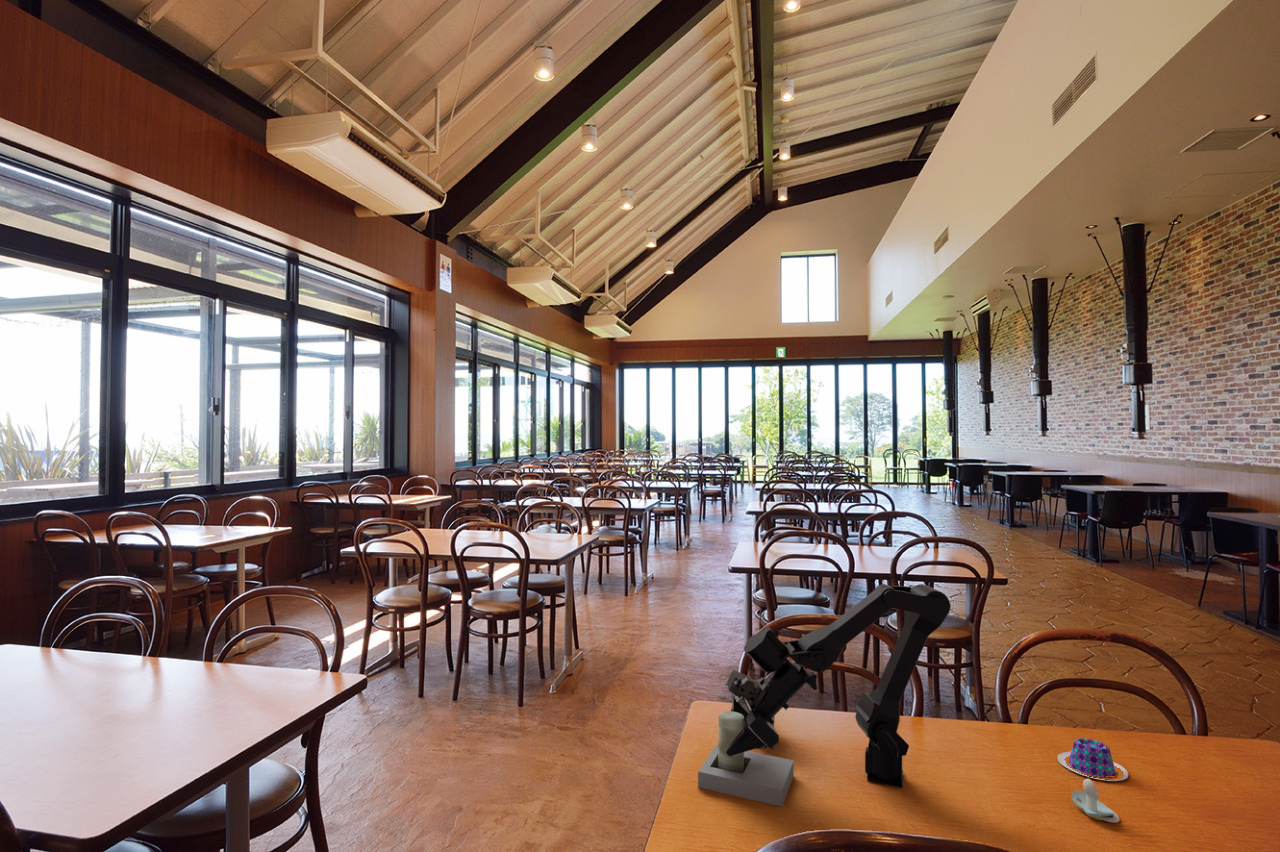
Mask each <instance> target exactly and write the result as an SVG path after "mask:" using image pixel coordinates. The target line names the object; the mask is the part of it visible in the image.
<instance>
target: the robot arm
mask: <svg viewBox="0 0 1280 852" xmlns="http://www.w3.org/2000/svg"><path fill="white" fill-rule="evenodd" d="M951 605H952V604H951V602H950V600H949V597H948V596H947V595H946V594H945V593H944V592H942V591H939V590H938V589H935V588H934V587H932V586H929V585H927V584H923V583H922V584H916V585H913V586H912V587H911V586H907V585H906V586H904V585H888V584H885V583H884V584H879V585H877V586H876V587H875V588H874V590H872V592H870V593H869V594H868V595H866V596H865V597H864V598H863V599H862V600H860V601H859V602H857V603H856V604H855V605H854V606H852V607H851V608H849V610H847V611H846V612H845V613H843V614H842V615H841V616H839V617H838V618H837V619H836V620H834V621H833V622H831V623H830V624H827V625H826V626H823V627H820V628H817V629H814V630H812V631H810V632H808V633H807V634H805V635H802V636H801V637H800V638H799V639H795V640H789V641H788V640H787V641H782V640H780V638H779V637H778V636H777V635H776V633H775V632H774V631H773V629H771V627H769V626H767V627H766V628H765V629H763V630H760V631H758V632H757V633H755V634H753V635H752V636H750V637H749V639H748V640H747V641H746V643H745V645H744V647H743V651H744V653H746V654H747V656H748V657H750V658H751V660H752V661H753V662H755V664H756V665H757V666H758V667H759V668H760V669H761V670H762V671H763V672H765V673H768V672H770V673H771V674H770V675H769V676H768V677H767V678H765V677H764V676H763V677H760V678H758V680H757V681H755V680H756V679H753V678H752V677H750V676H748V675H746V674H744V673H742V672H739V671H737V670H735V669H732V671H731V673H730V675H729V677H728V679H727V681H726V683H725V685H726V686H727V687H728V688H727V689H728V691H729V692H730V693H731V710H730V711H732V712H737V713H740V714H742V715H743V716H744V719H742V730H741V732H740V733H739V734H738V736H737V737H736V738H735V739H734V741H733V742H732V743H731V745H730V746H729V747H728V749H727V750H726V753H727V754H728V756H733V755H736V754H739V753H742V752H746V751H749V752H750V751H752V750H756V749H761V748H765V749H767V748H769V749H770V750H774V748H775V747H777V745H778V744H779V743H780V735H779V733H778V731H777V730H776V728H775V726H774V727H773V726H772V724H773V723H774V724H775V719H774V720H773V717H774V716H776V715H777V714H778V713H779V711H780V710H783V709H784V710H785V711H787V710H788V709H789V708H790V705H789V702H790V700H791V699H793V697H794V696H796V695H797V694H798V693H799V692H800V690H801V689H802V688H803V687H804V686H805V685H806V684H807V685H808V686H809V687H811V689H812V690H813V691H816V690H817V689H818V685H817V678H818V675H817V674H816V673H823V672H826V671H828V669H830V668H831V666H832V665H833V664H834V663H836V661H837V660H838V659H839V658H840V655H841V654H842V652H843V650H844V648H845V647H846V646H847V645H848V644H849V643H850V642H851V641H853V640H854V639H855V638H857V636H859V635H860V634H861V633H863V632H864V631H865V630H866V629H867V628H869V627H870V626H872V625H873V624H874V623H876V622H877V621H879V620H880V618H882V617H883V616H885V615H886V614H887V613H889V611H891V610H892V609H896V610H901V611H903V612H904V615H903V616H904V623H903V624H904V625H903V626H902V628H901V631H900V634H899V636H898V638H897V641H896V643H895V645H894V647H893V649H892V652H891V655H890V656H889V659H888V661H887V664H886V665H885V668H884V671H883V673H882V675H881V677H880V680H879V682H878V685H877V686H876V687H875V689H874V690H873V691H871V693H869V694H868V693H867V692H865V691H862V692H861V694H860V697H859V702H858V703H857V704H856V706H855V707H854V711H855V712H856V713H855V721H856V724H857V726H858V727H859V728H860V729H861V731H862V732H863V733H864V734H865V736H866V737H867V738H868V746H866V748H865V751H864V756H865V757H864V773H865V774H866V775H867V776H866V780H867V781H868V782H871V783H872V782H873V783H877V784H882V785H887V786H891V787H897V788H903V786H904V784H903V783H904V770H903V757H905V756H907V753H908V751H909V748H910V745H909V743H908V742H906V740H904V738H903V737H902V736H901V735H900V734H899V733H898V728H899V725H900V721H901V720H900V717H901V716H900V710H901V708H900V705H901V704H900V703H901V700H902V697H903V696H904V693H905V691H906V688H907V687H908V683H909V682H910V679H911V677H912V674H913V673H914V670H915V667H916V665H917V663H918V661H919V658H920V656H921V653H922V651H923V649H924V647H925V644H926V642H927V640H928V638H929V636H930V635H932V634H933V633H934V632H935V631H937V629H939V628H941V626H942V625H943V624H944V622H945V620H946V618H947V617H948V615H949V614H950V612H951ZM788 657H790V659H791V660H792V661H793V662H792V661H791V660H790V659H789V658H788ZM805 666H806V667H807V668H808V670H810V671H808V670H807V669H806V668H805Z"/></svg>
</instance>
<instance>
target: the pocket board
mask: <svg viewBox="0 0 1280 852" xmlns="http://www.w3.org/2000/svg"><path fill="white" fill-rule="evenodd" d="M794 762H795V761H794V760H793V759H786V758H782V757H779V756H773V755H767V754H763V753H759V752H758V753H757V752H753V751H750V750H749V751H746V752H744V773H743V774H741V773H736V772H732V771H727V770H723V769H718V744H715V745H714V747H713V748H712V750H711V752H710V753H709V755H708V756H707V758H706V759H705V760H704V762H703V764H702V765H701V766H700V768H699V769H698V772H697V776H698V777H697V788H698V789H699V788H700V789H704V790H709V791H712V792H716V793H720V794H723V795H724V794H725V795H730V796H733V797H739V798H742V799H745V800H746V799H747V800H749V801H751V800H752V801H754V802H759V803H764V804H768V805H772V806H777V807H781V808H782V807H783V805H784V803H785V800H786V797H787V794H788V791H790V790H789V789H790V786H791V784H792V781H793V778H794V773H795V772H794V769H795V767H794V766H795V765H794Z"/></svg>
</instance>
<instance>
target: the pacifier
mask: <svg viewBox="0 0 1280 852" xmlns="http://www.w3.org/2000/svg"><path fill="white" fill-rule="evenodd" d="M1082 787H1083V790H1084V791H1082V790H1074V791H1073V792H1072V793H1071V799H1072V802H1073V803H1074V804H1075V806H1077V807H1078V808H1080V809H1081V810H1082V811H1083V813H1085V814H1086V815H1087V816H1089V817H1090V818H1092V817H1093V819H1094V818H1095V819H1094V820H1097V819H1099V821H1104V822H1108V823H1116V824H1117V823H1119V822H1120V817H1119V815H1118V814H1117V813H1116V812H1115V811H1113V810H1112V809H1110V808H1109V807H1108V806H1106V805H1105V804H1104V803H1103V802H1101V801H1100V800H1098V799H1099V798H1100V794H1099V790H1098V789H1097V787H1096V784H1095V783H1094V782H1093V781H1092V780H1091V779H1090V778H1085V779H1084V780H1083V782H1082ZM1110 816H1111V817H1110Z"/></svg>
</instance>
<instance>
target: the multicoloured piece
mask: <svg viewBox="0 0 1280 852" xmlns="http://www.w3.org/2000/svg"><path fill="white" fill-rule="evenodd" d="M1068 756H1070V757H1069V761H1068V764H1070V763H1071V764H1070V765H1069V766H1070V767H1071V766H1072V767H1073V768H1074V770H1073V769H1072V768H1070V767H1069V766H1067V764H1066V761H1065V760H1064V759H1065V758H1066V757H1068ZM1112 756H1113V755H1112V753H1111V750H1110V747H1109V746H1107V745H1106V744H1104V743H1103V742H1101V741H1099V740H1095V739H1092V738H1083V737H1080V738H1078V739H1075V741H1074V742H1073V745H1072V748H1071V751H1066V752H1065V751H1064V752H1061V753H1059V754H1058V755H1057V761H1058V762H1059V763H1060V764H1061V765H1062V766H1063V767H1065V768H1067V770H1069V771H1072V772H1074V773H1076V774H1078V775H1082V776H1083V777H1087V778H1089V779H1090V778H1091V779H1096V780H1100V781H1108V782H1118V781H1124V780H1126V779H1128V778H1129V771H1127V769H1126V768H1124V767H1123V766H1122V765H1120V764H1118V763H1117V762H1115V761H1113V757H1112ZM1114 766H1116V767H1117V768H1120V769H1121V771H1123V773H1124V774H1123V775H1124V776H1122V778H1120V779H1115V780H1105V779H1099V777H1097V778H1093V777H1094V776H1092V777H1089V776H1090V775H1096V776H1100V777H1106V776H1115V775H1116V773H1117V772H1116V771H1115V767H1114ZM1075 769H1078V770H1076V771H1075ZM1079 770H1080V771H1079ZM1077 771H1078V772H1077ZM1079 772H1080V773H1079ZM1082 772H1083V774H1081V773H1082ZM1115 772H1116V773H1115ZM1084 773H1086V774H1090V775H1089V776H1087V775H1084ZM1096 776H1095V777H1096ZM1115 777H1116V776H1115Z"/></svg>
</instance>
